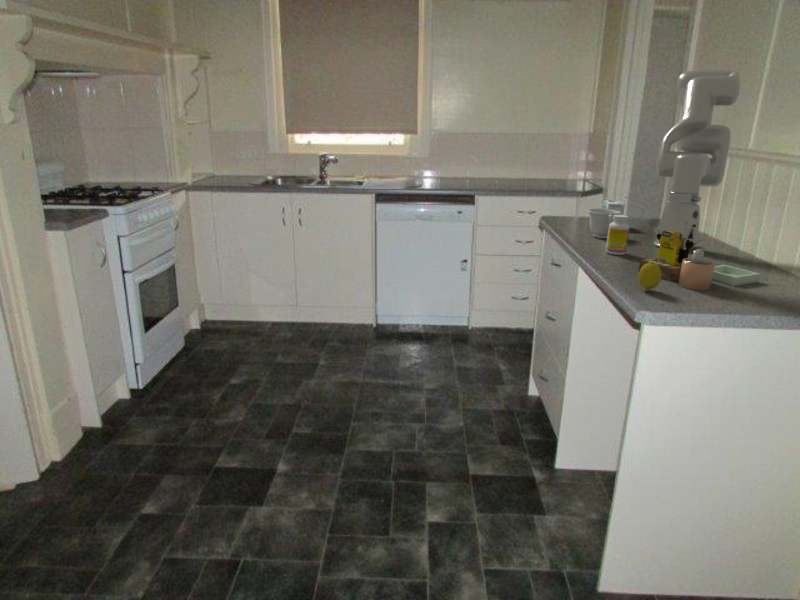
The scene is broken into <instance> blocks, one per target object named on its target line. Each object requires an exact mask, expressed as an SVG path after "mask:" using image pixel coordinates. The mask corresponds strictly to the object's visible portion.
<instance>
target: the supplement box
mask: <svg viewBox="0 0 800 600" xmlns="http://www.w3.org/2000/svg"><path fill="white" fill-rule="evenodd" d="M690 234H691V233H690ZM681 242H682V239H681V234H679V233H674V232H670V231H665V230H663V231H662V237H661V242H660V247H658V248H659V250H658V254H657V255H658V256H657V258H658V260H657V262H660V263H663V264H667V265H670V266H673V267H676V266H682V263H678V257H679V251H680V249H682V245H681ZM686 244H687V241H686Z"/></svg>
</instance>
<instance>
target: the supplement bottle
mask: <svg viewBox="0 0 800 600" xmlns="http://www.w3.org/2000/svg"><path fill="white" fill-rule="evenodd" d="M628 220H629V216H628V215H626V214H625V215H624V214H623V215H614V216H613V222H612V223H610V225H609V229H608V237H607V238H606V246H605V252H606V253H607V254H608V253H609V255H612V254H614V255H613V256H624V255H626V254H627V251H628V250H627V249H628V243H629V242H628V241H629V236H630V228H631V227H630V225H629V224H628V223H627V222H628Z"/></svg>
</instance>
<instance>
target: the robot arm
mask: <svg viewBox="0 0 800 600" xmlns="http://www.w3.org/2000/svg"><path fill="white" fill-rule="evenodd" d="M676 88H677V96H678V99H679V103H680V107H681V112H680V119H679V122H677V123H676V124H675V125H673V126H672V127H671V128H670V129H669V130H668V131H666V133H665V135H664V136H663V138H662V139H661V142H660V144H659V148H658V153H657V159H656V166H655V167H656V173H657V175H659V176H660V177H663V178H666V180H667V183H666V185H667V186H666V195H665V201H664V207H663V211H662V213H661V217H660V223H659V224H658V225H657V226H655V227H654V229H653V232H654V234H655V235H656V238H657V240H654V241H653V246H655V247H657V248H660V242H661V237H662V231H663V230H665V231H670V232H674V233H679V234H681V239H682V242H681V245H682V249H680V251H679V257H678V263H682V261H683V259H685V258H689V254H690V250H692V249H693V247H695V246H696V245H697V244H698V243H700V242H701V241H702V236H701V235H700V234H699V228H700V219H701V213H700V212H701V210H700V205H699V204H698V202H699V203H700V202H701V199H702V197H701V196H699V195H700V194H699V193H700V189H701V187H708V188H709V187H710V188H711V187H712V188H713V187H717V186H719V185H720V184H721V183H722V181H723V179H724V176H725V175H724V174H725V170H726V165H727V159H728V155H729V149H730V143H731V138H732V137H731V135H732V134H731V130H730V128H729V127H728V126H727V125H723V124H712V121H713V112H714V106H727V107H728V106H733V105H735V103H736V102H737V100H738V97H739V95H740V89H741V79H740V74H739V72H738V70H734V69H733V70H730V69H726V70H725V69H723V70H722V69H721V70H719V69H718V70H714V69H712V70H708V69H705V70H703V69H701V70H700V69H699V70H698V69H697V70H688V71H684V72H682V73H681V74H680V75H679V77H678V78H677V84H676ZM675 143H676V148H677V150H678V151H677V150H676V151H675V150H671V151H670V148H671V146H673V144H675ZM709 155H710V156H711V157H710V156H709ZM690 233H691V234H690ZM686 241H687V244H686Z"/></svg>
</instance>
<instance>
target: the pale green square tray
mask: <svg viewBox="0 0 800 600" xmlns="http://www.w3.org/2000/svg"><path fill="white" fill-rule="evenodd" d="M760 277H761V273H759V272H754V271H750V270H749V269H743V268H739V267H735V266H731V265H727V264H721V265H720V264H719V265H715V267H714V272H713V277H712V281H713V282H716V283H720V284H725V285H728V286H732V287H737V286H744V285H748V284H749V285H750V284H754V283H755V284H756V283H759V282H760Z"/></svg>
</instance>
